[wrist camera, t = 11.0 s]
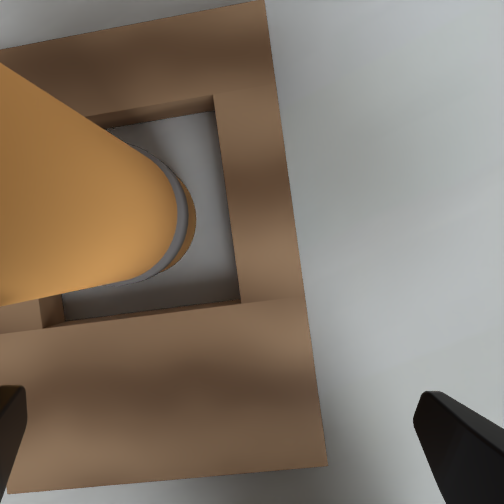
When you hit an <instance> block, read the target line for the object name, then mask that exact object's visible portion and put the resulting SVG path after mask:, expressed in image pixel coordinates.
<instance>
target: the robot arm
mask: <svg viewBox="0 0 504 504" xmlns="http://www.w3.org/2000/svg"><path fill="white" fill-rule="evenodd" d="M27 418H28V415H27V401H26V390H25V387H24V386H22V385H1V386H0V502H1V500H2V497H3V494H4V491H5V488H6V485H7V482H8V479H9V476H10V474H11V471H12V468H13V465H14V462H15V459H16V456H17V453H18V450H19V447H20V444H21V441H22V438H23V435H24V432H25V429H26V425H27ZM413 424H414V428H415V431H416V433H417V436H418V438H419V441H420V443H421V446H422V448H423V451H424V453H425V456H426V458H427V461H428V463H429V466H430V468H431V471H432V473H433V476H434V478H435V480H436V483H437V485H438V487H439V490H440V492H441V494H442V496H443V498H444V500H445V502H446V504H504V429H503V428H501V427H500V426H498V425H496V424H495V423H493V422H491V421H490V420H488V419H486V418H485V417H483V416H481V415H480V414H478V413H476V412H475V411H473V410H471V409H470V408H468V407H466V406H465V405H463V404H461V403H459V402H458V401H456V400H454V399H453V398H451V397H449V396H448V395H446V394H444V393H443V392H440V391H425V392H424V393H423V394H422V395H421V397H420V400H419V403H418V405H417V408H416V411H415V414H414V417H413Z"/></svg>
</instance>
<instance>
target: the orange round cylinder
mask: <svg viewBox="0 0 504 504" xmlns="http://www.w3.org/2000/svg"><path fill="white" fill-rule="evenodd" d="M195 228H196V211H195V207H194V203H193V200H192V197H191V195H190V193H189V191H188V190H187V188H186V187H185V185H184V184H183V183H182V182H181V180H180V179H179V178H177V177H176V176H175V174H174V173H173V172H172V171H171V170H170V169H169V167H167V166H166V165H165V164H164V163H163V162H162V161H160V160H159V159H157V158H156V157H154V156H153V155H151V154H150V153H148V152H147V151H145V150H143V149H141V148H139V147H136V146H133V145H130V144H126V143H124V142H123V141H121V140H120V139H118V138H117V137H115V136H113V135H112V134H110V133H109V132H107V131H106V130H104V129H103V128H101V127H99V126H98V125H96V124H95V123H93V122H92V121H90V120H89V119H87V118H85V117H84V116H82V115H81V114H79V113H78V112H76V111H75V110H73V109H71V108H70V107H68V106H67V105H65V104H64V103H62V102H61V101H59V100H57V99H56V98H54V97H53V96H51V95H50V94H48V93H47V92H45V91H44V90H42V89H40V88H39V87H37V86H36V85H34V84H33V83H31V82H30V81H28V80H26V79H25V78H23V77H22V76H20V75H19V74H17V73H16V72H14V71H12V70H11V69H9V68H8V67H6V66H5V65H3V64H2V63H0V307H1V306H6V305H10V304H15V303H20V302H25V301H29V300H34V299H39V298H44V297H48V296H53V295H58V294H63V293H67V292H72V291H77V290H82V289H86V288H91V287H96V286H101V285H102V286H122V285H127V284H132V283H136V282H140V281H143V280H146V279H149V278H151V277H153V276H154V275H156V274H158V273H160V272H163V271H165V270H167V269H168V268H170V267H171V266H173V265H174V264H176V263H177V262H178V261H179V260H180V259H181V258H182V257H183V255H184V254H185V253H186V251H187V250H188V248H189V246H190V244H191V242H192V240H193V236H194V233H195Z"/></svg>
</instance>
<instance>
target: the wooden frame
mask: <svg viewBox="0 0 504 504" xmlns="http://www.w3.org/2000/svg"><path fill="white" fill-rule="evenodd" d="M0 63H2V64H3V65H5V66H6V67H8V68H9V69H11V70H12V71H14V72H16V73H17V74H19V75H20V76H22V77H23V78H25V79H26V80H28V81H30V82H31V83H33V84H34V85H36V86H37V87H39V88H40V89H42V90H44V91H45V92H47V93H48V94H50V95H51V96H53V97H54V98H56V99H57V100H59V101H61V102H62V103H64V104H65V105H67V106H68V107H70V108H71V109H73V110H75V111H76V112H78V113H79V114H81V115H82V116H84V117H85V118H87V119H89V120H90V121H92V122H93V123H95V124H96V125H98V126H99V127H101V128H103V129H107V128H113V127H119V126H125V125H131V124H137V123H142V122H148V121H154V120H160V119H166V118H172V117H178V116H184V115H190V114H195V113H201V112H207V111H213V110H215V114H216V121H217V128H218V136H219V143H220V150H221V158H222V165H223V172H224V179H225V187H226V194H227V201H228V209H229V216H230V223H231V231H232V238H233V245H234V253H235V260H236V267H237V275H238V282H239V289H240V297H241V299H238V300H230V301H222V302H214V303H206V304H198V305H190V306H182V307H175V308H167V309H159V310H151V311H143V312H135V313H127V314H119V315H111V316H104V317H96V318H88V319H80V320H72V321H65V318H64V310H63V303H62V296H61V294H58V295H53V296H48V297H44V298H39V299H34V300H29V301H25V302H20V303H15V304H10V305H6V306H1V307H0V386H1V385H22V386H24V387H25V390H26V401H27V415H28V418H27V425H26V429H25V432H24V435H23V438H22V441H21V444H20V447H19V450H18V453H17V456H16V459H15V462H14V465H13V468H12V471H11V474H10V476H9V479H8V482H7V485H6V487H7V494H16V493H28V492H39V491H50V490H62V489H73V488H84V487H96V486H107V485H118V484H130V483H141V482H152V481H164V480H175V479H186V478H198V477H209V476H220V475H232V474H243V473H255V472H266V471H277V470H289V469H300V468H311V467H323V466H328V461H327V454H326V447H325V439H324V432H323V425H322V417H321V410H320V403H319V396H318V388H317V381H316V374H315V366H314V359H313V352H312V345H311V337H310V330H309V323H308V315H307V308H306V301H305V293H304V286H303V279H302V272H301V264H300V257H299V250H298V242H297V235H296V228H295V220H294V213H293V206H292V199H291V191H290V184H289V177H288V169H287V162H286V155H285V147H284V140H283V133H282V126H281V118H280V111H279V104H278V96H277V89H276V82H275V74H274V67H273V60H272V53H271V45H270V38H269V31H268V23H267V16H266V9H265V2H264V0H256V1H251V2H246V3H240V4H235V5H230V6H225V7H220V8H214V9H209V10H204V11H199V12H194V13H188V14H183V15H178V16H173V17H168V18H162V19H157V20H152V21H147V22H142V23H136V24H131V25H126V26H121V27H116V28H110V29H105V30H100V31H95V32H90V33H84V34H79V35H74V36H69V37H64V38H58V39H53V40H48V41H43V42H38V43H32V44H27V45H22V46H17V47H12V48H6V49H1V50H0Z"/></svg>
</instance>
